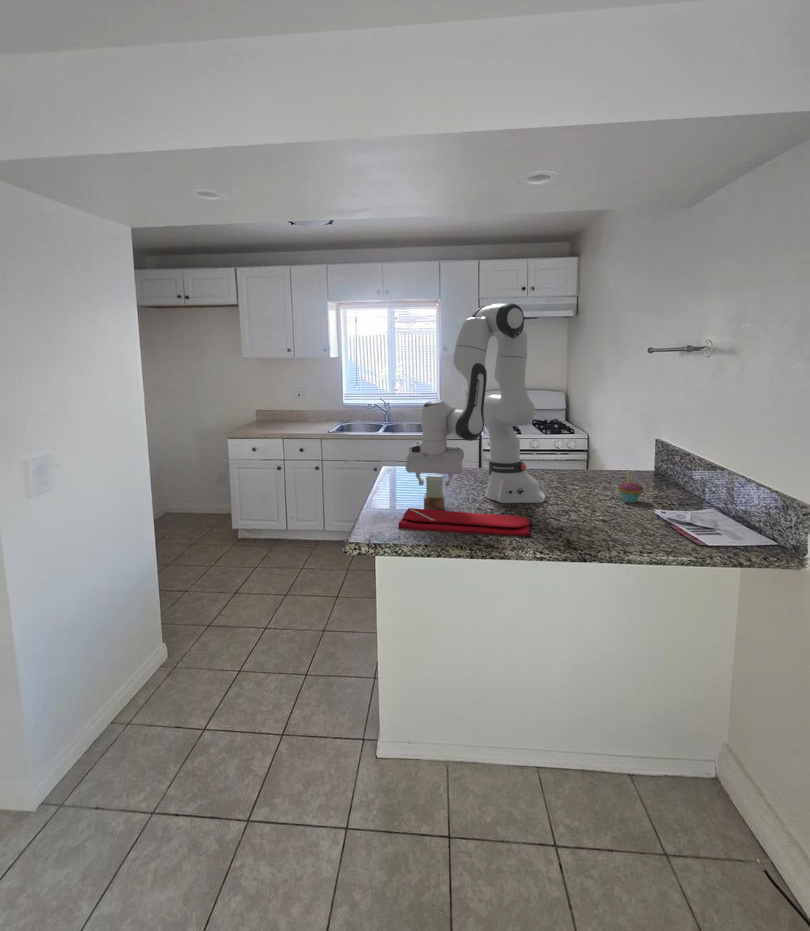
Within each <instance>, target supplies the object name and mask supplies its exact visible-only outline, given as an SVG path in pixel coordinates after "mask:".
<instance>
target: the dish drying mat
mask: <svg viewBox="0 0 810 931" xmlns="http://www.w3.org/2000/svg"><path fill="white" fill-rule="evenodd" d="M529 523H531V518H530V517H527V516H525V517H524V516H519V515H512V514H510V515H509V514H495V513H493V514H490V513H489V514H488V513H475V512H463V511H451V510H444V511H440V510H426V509H424V508H416V507H412V508H411V507H408V508H407V509H406V510H405V512H404V514H403V517H402V518H401V520H400V521H399V522H398V529H401V528H404V530H413V529H414V530H415V531H426V532H427V531H430V532H441V533H442V532H443V533H444V532H446V533H459V534H474V533H478V535H492V534H497V535H496V536H509V535H518V536H517V537H529V536H530V532H529V530H530V524H529ZM414 530H413V531H414Z"/></svg>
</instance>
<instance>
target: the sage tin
mask: <svg viewBox="0 0 810 931" xmlns="http://www.w3.org/2000/svg"><path fill="white" fill-rule="evenodd" d="M443 479H444V474H427V476H426V478H425V483H426V485H425V486H426V488H425V489H426V490H425V491H426V492H425V493H426V497H429V498H441V496H442V494H444V493H443V492H444V490H443V484H444V483H443V481H444V480H443Z"/></svg>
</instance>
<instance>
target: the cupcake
mask: <svg viewBox="0 0 810 931" xmlns="http://www.w3.org/2000/svg"><path fill="white" fill-rule="evenodd" d="M629 475H630V474H629V470H628V469H626V479H627V481H626V482H623V483H621V484H620V485H619V486H618V492H619V493H620V495H621V499H622V501H623V502H624V503H630V504H631V503H632V504H633V503H637V502H638V499H639V497H640V495H642V494H643V492H644V487H643V486H642V485H641V484H640V483H638V482H634V481H630V476H629Z"/></svg>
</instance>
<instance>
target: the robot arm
mask: <svg viewBox="0 0 810 931" xmlns="http://www.w3.org/2000/svg"><path fill="white" fill-rule="evenodd" d="M524 327H525V316H524V312H523V310H522V308H521V306H519V305H518V304H515V303H512V302H506V303H505V302H504V303H493V304H491V305H487V306H482V307H480V308H478V309H476V310H475V311H474V312H473V314H472V316H471V317H469V318H466V319H465V320H464V322H462V325H461V328H460V330H459V333H458V336H457V338H456V343H455V348H454V352H453V365H454V367H455V369H456V370H457V371H458V372H459V373H460V374H461V375H462V376H463V377H464V378H465V380H466V383H467V393H466V401H465V408H464V409H460V408H456V407H454V406H451V405H450V404H448V403H446V401H444V400H442V399H435V400H434V399H433V400H429V401H427V402H426V403H424V404H423V406H422V411H421V422H420V423H421V424H420V425H421V430H422V435H421V441H419V442H416V443H413V444H412V445H410V446H409V447H408V452H409V453H408V455H407V456H406V459H405V471H406V472H407V474H408V473H410V474H412V473H413V474H415V477H416V479H417V481H418V485H419V486H424V484H425V483H424V481H425V480H424V479H422V478H421V474H437V475H444V474H445V475H448V477H449V478H448V479H445V481H444V484H445V485H444V486H445V487H450V486H451V480H452V478H453V476H454V475H461V474H462V473H463V471H464V463H463V460H464V456H465V453H464V450H463V449H461V447H457V446H456V447H450V446H449V447H448V444H447V436H449V435H450V436H453V437H456V438H460V439H463V440H464V441H468V442H469V441H470V442H472V441H474V440H477V439H478V438H480V436H481V435H482V433H483V431H484V428H485V427H486V429H487V433H488V437H489V448H490V449H489V454H490V455H489V458H490V459H489V460H488V466H487V467H488V483H487V488H486V492H485V495H484V496H485V498H486V499H489V500H492V501H496V502H499V503H501V504H521V503H522V504H525V503H527V504H529V503H530V504H533V503H534V504H536V503H537V504H538V503H543V502H544V501H545V500H546V494H545V493H544V492H542V491H540V486H539V482H538V481H537V479H536V478H535V477H533V476H532V475H531V474H530V473H528V472H527V471H525V470H526V468H527V464H526V463H525V462H524V461H521V460H520V456H521V451H520V450H521V442H520V438H519V437H518V436H517V434H516V432H515V431H514V428H513V427H521V426H522V427H523V426H527V425H529V424H531V422H533V420H534V418H535V414H536V408H535V405H534V403H533V401H532V400H531V398H530V397H529V394H528V391H527V386H526V371H527V370H526V368H527V359H528V358H527V357H528V335H527V331H526V330H525V329H524ZM491 337H496V341H497V348H496V357H495V367H494V379H495V381H496V382H497V383H498V385H499V389H500V393H493V394H489V395H486V392H487V391H486V390H487V381H488V380H487V378H488V377H487V376H488V375H487V369H486V357H487V352H488V345H489V341H490V340H491ZM485 425H486V426H485Z"/></svg>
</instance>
